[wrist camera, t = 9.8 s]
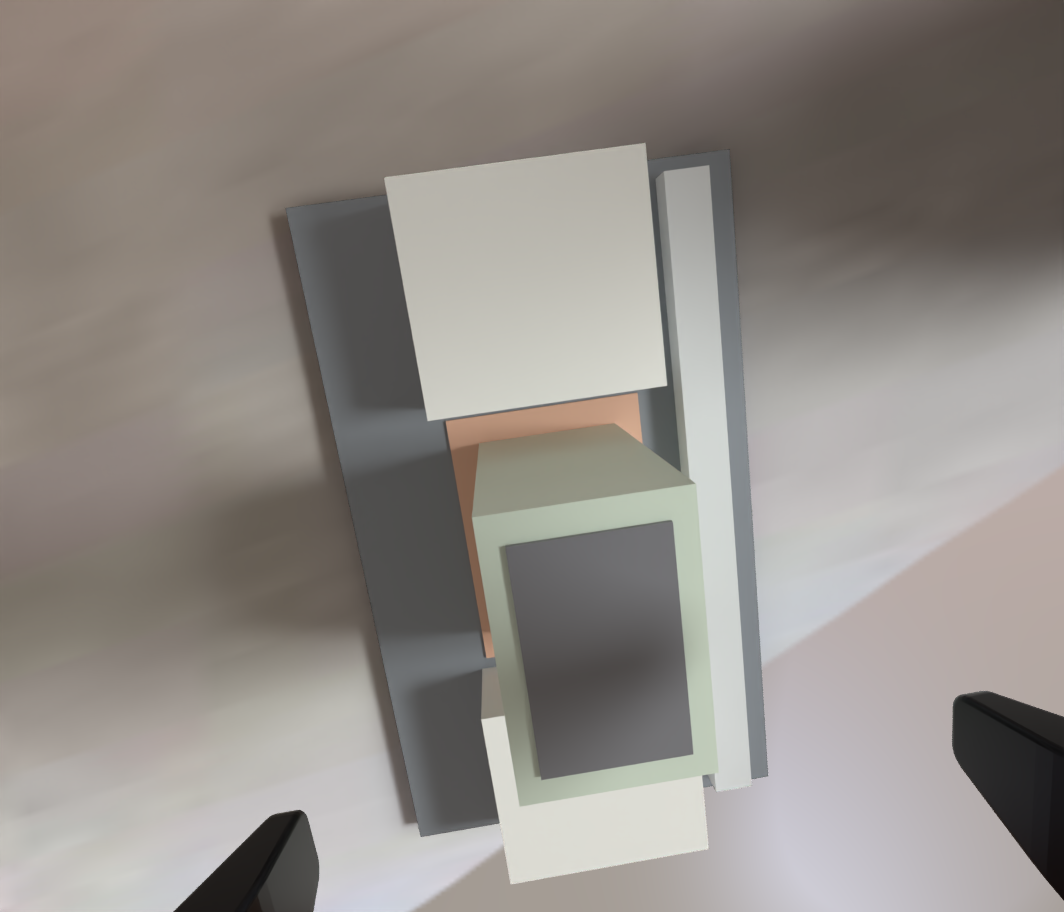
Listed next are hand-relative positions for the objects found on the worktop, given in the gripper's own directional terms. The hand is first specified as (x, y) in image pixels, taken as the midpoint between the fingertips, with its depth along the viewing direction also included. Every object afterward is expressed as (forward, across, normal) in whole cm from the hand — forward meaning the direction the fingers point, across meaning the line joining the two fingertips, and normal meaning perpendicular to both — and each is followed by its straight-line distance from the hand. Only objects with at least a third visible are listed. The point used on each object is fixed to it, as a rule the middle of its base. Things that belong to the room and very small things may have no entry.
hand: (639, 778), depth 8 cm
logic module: (+10, 0, 0) cm, 10 cm away
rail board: (+11, 0, 0) cm, 11 cm away
